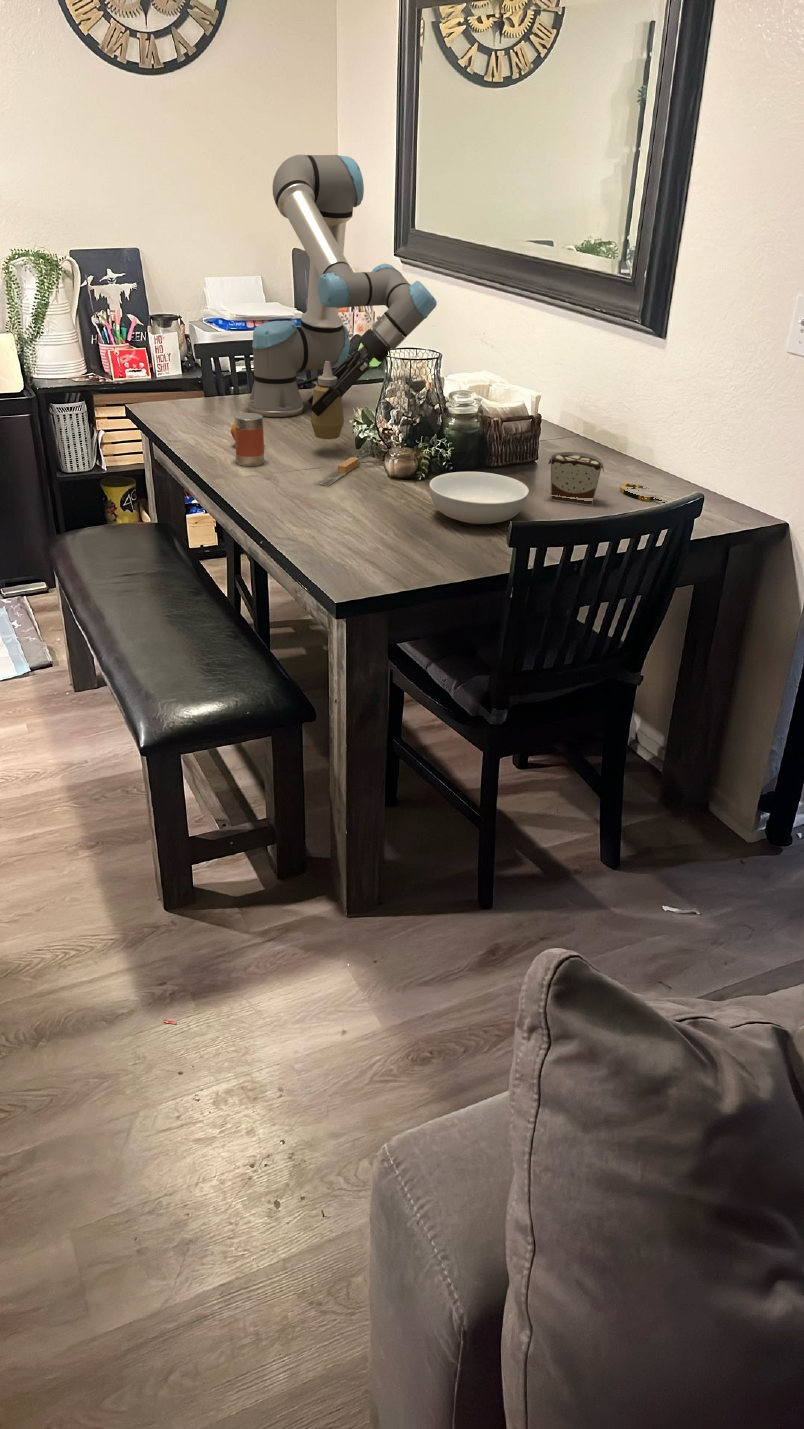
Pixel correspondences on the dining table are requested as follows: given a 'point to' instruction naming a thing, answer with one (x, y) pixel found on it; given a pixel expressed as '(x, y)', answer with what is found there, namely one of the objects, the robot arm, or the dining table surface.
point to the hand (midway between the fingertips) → (312, 408)
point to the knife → (341, 471)
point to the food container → (574, 476)
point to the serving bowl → (478, 496)
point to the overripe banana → (635, 494)
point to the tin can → (249, 439)
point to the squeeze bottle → (332, 416)
